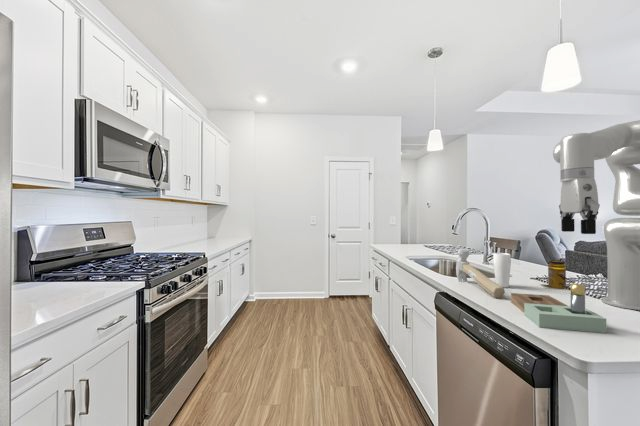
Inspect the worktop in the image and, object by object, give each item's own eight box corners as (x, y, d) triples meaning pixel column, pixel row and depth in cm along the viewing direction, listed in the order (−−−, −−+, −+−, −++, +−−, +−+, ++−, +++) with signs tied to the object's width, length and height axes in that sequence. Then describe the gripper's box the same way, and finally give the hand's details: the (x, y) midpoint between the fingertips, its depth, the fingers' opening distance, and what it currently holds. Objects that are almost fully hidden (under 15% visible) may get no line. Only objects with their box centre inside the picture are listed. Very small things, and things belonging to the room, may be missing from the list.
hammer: (508, 275, 108) (466, 248, 137) (496, 275, 108) (456, 248, 137) (502, 311, 111) (462, 277, 141) (490, 311, 111) (453, 277, 141)
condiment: (570, 290, 121) (569, 262, 121) (546, 288, 124) (545, 261, 124) (562, 286, 128) (562, 260, 128) (539, 284, 131) (539, 259, 131)
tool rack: (583, 319, 87) (583, 307, 87) (606, 333, 78) (606, 318, 78) (524, 315, 92) (524, 303, 92) (539, 327, 82) (539, 313, 82)
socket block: (548, 304, 102) (548, 295, 102) (568, 316, 90) (568, 305, 90) (511, 302, 105) (511, 293, 105) (525, 313, 93) (525, 302, 93)
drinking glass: (495, 287, 126) (494, 254, 126) (492, 284, 132) (491, 252, 132) (512, 289, 123) (512, 255, 123) (509, 285, 130) (508, 253, 130)
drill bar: (581, 323, 85) (580, 283, 85) (587, 327, 82) (587, 286, 82) (568, 322, 86) (568, 283, 86) (574, 326, 83) (574, 285, 83)
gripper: (613, 171, 75) (614, 235, 75) (574, 178, 91) (574, 230, 91) (579, 172, 77) (580, 234, 77) (547, 179, 93) (547, 230, 93)
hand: (577, 232), depth 84 cm, fingers open, 9 cm apart
